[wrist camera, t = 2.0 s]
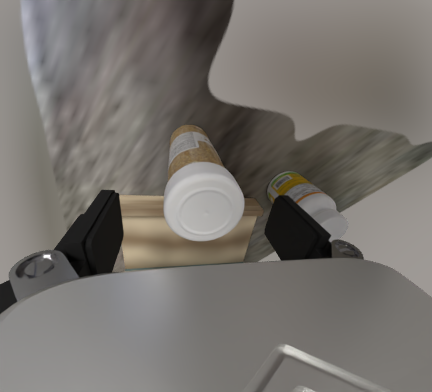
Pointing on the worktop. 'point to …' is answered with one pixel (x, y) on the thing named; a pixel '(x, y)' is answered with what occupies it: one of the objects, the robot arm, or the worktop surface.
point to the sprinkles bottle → (199, 188)
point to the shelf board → (178, 237)
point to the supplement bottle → (309, 201)
